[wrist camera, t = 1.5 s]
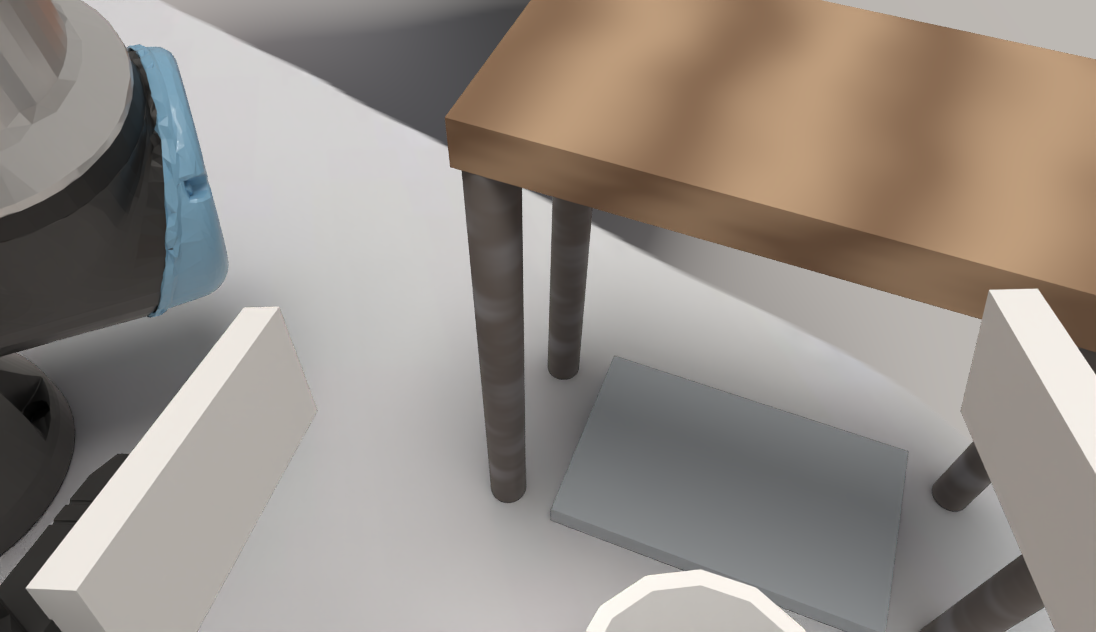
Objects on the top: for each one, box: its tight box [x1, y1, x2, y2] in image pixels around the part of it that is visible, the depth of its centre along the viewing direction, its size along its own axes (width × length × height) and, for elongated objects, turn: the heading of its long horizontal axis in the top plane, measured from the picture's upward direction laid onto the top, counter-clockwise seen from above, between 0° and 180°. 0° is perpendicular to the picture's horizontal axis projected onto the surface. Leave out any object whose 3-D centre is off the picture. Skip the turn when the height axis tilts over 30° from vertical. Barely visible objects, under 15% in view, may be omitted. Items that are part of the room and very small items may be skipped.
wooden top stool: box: [445, 0, 1096, 632], centre depth 35 cm, size 26×11×27 cm, turn 69°
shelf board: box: [551, 356, 908, 632], centre depth 45 cm, size 18×11×2 cm, turn 69°
